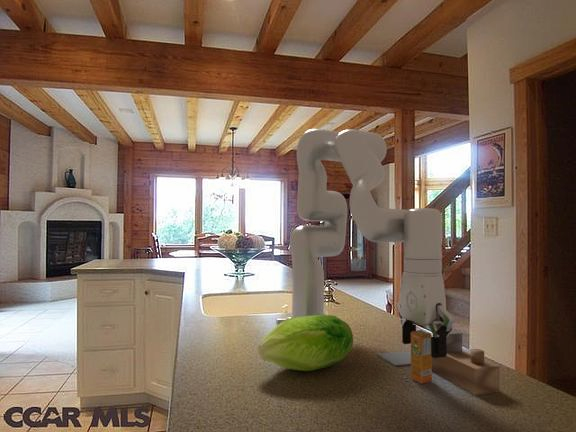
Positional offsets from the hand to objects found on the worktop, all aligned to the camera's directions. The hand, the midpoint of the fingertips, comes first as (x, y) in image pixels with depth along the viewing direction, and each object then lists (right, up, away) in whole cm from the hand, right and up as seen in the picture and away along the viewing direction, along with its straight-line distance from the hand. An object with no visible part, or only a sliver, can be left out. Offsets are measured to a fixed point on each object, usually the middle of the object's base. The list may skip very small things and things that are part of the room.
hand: (423, 349), depth 82 cm
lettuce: (-24, -6, +5) cm, 26 cm away
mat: (-1, -7, +13) cm, 14 cm away
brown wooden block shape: (+8, -7, +2) cm, 11 cm away
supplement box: (0, -7, 0) cm, 7 cm away
